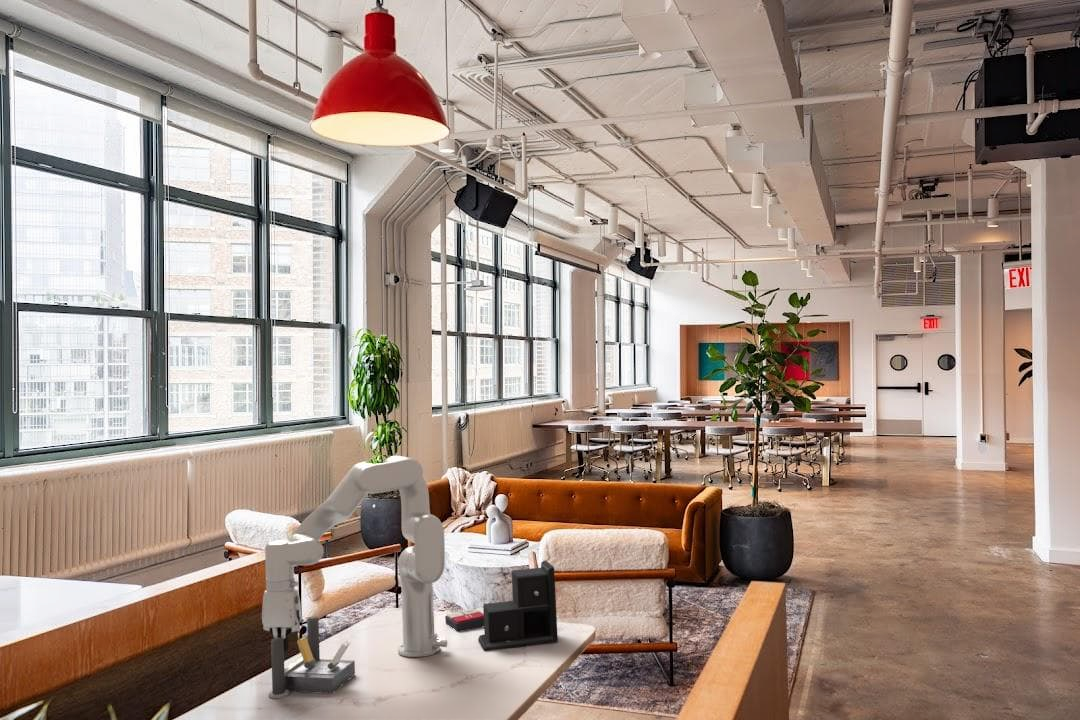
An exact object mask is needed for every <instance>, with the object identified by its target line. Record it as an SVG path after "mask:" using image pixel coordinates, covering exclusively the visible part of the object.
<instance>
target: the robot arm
mask: <svg viewBox="0 0 1080 720" xmlns="http://www.w3.org/2000/svg"><path fill="white" fill-rule="evenodd" d="M423 473H424V469H423V466H422V464H421V462H420V461H418V460H417V459H416V458H413V457H409V456H404V455H391V456H389V457H387V458H386V459H385V460H384V462H381V463H370V462H358V463H356V464H354V465H353V466H352V467H351V468H350V470H349V471H348V472H347V473H346V475H344V477H343V478H342V480H341V481H340V482H339V483H338V485H337V486H336V487H335V488H334V490H333V491H332V493H330V495H329V496H328V498H327V499H326V500H325V501H324V502H322V503H321V504H320V505H319V506H317V508H316V509H314V510H313V511H312V512H311V513H310V514H309V515H308V516H306V518H304V520H303V521H302V522H301V523H300V525H298V526H297V528H296V530H294V532H293V533H292V535H291V536H290V538H289V539H277V540H276V539H275V540H271V541H269V542H267V543H266V545H265V548H264V555H265V556H264V557H265V558H264V559H265V560H264V561H265V587H266V590H264V593H263V597H262V605H261V608H262V609H261V621H262V625H263V627H262V629H263V630H264V631H267V632H270V634H271V635H272V636H273V639H274V638H283V639H284V653H285V652H287V651H288V649H289V636H290V635H291V634H292V633H294V632H297V631H300V630H301V626H300V624H301V623H302V618H303V617H302V615H303V614H302V603H301V599H300V594H299V590H298V588H296V587H298V586H299V582H298V581H296V578H295V567H294V566H312V565H315V564H317V563H318V562H320V560H321V559H322V558H323V556H324V550H325V549H324V546H323V545H322V543H321V541H319V540H320V539H321V538H322V537H323V536H324V535H325V533H326V532H328V531H329V530H330V529H332V528H333V527H334V526H337V525H338V524H341V523H344V522H345V521H348V519H350V518H351V517H352V516H353V514H354V513H355V511H356V510H357V509H358V507H359V506H360V505H361V503H362V502H363V501H364V500H365V498H366V497H367V496H368V494H373V495H374V494H380V493H382V494H383V493H387V492H392V491H396V490H398V492H399V494H400V503H401V505H400V506H401V532H402V533H401V534H402V536H403V537H404V539H405V540H407V541H409V542H411V543H413V544H414V545H412V546H408V547H406V548H405V549H404V550H403V551H402V552H401V553H400V555H399V556H398V557H399V558H398V561H397V563H398V564H397V565H398V566H397V568H398V575H399V579H400V587H401V614H402V617H401V618H402V619H401V620H402V644H401V645H400V646H399V647H397V648H398V649H397V653H398V654H399V655H401V656H402V657H407V658H408V657H409V658H420V657H421V658H423V657H427V656H431V655H434V654H436V653H438V652H439V651H440V650H441V648H447V647H448V644H449V643H448V640H447V639H446V638H439V637H438V633H435V616H434V615H435V613H434V609H435V608H434V587H433V584H434V583H436V582H437V581H439V579H440V578H441V577H442V575H443V573H444V571H445V570H444V569H445V565H446V561H445V560H446V559H445V558H446V557H445V556H446V555H445V553H446V552H445V549H446V548H445V547H446V546H445V544H446V543H445V529H444V525H443V523H442V522H441V520H440V518H438V517H437V516H435V515H434V514H431V509H430V506H431V505H430V494H429V488H428V485H427V482H426V480H425V478H424V476H423Z"/></svg>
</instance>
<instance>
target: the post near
mask: <svg viewBox="0 0 1080 720" xmlns="http://www.w3.org/2000/svg"><path fill="white" fill-rule="evenodd" d="M270 653H271V655H270V657H271V683H272V684H271V685H272V687H271V688H272V689H271V691H269V693H268V697H269V699H272V700H278V699H283V698H286V697H288V696H289V694H290V691H288V690H287V689H285V671H284V669H285V652H284V639H283V638H274V637H273V638H271V640H270Z"/></svg>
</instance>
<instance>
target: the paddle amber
mask: <svg viewBox="0 0 1080 720" xmlns="http://www.w3.org/2000/svg"><path fill="white" fill-rule="evenodd" d="M296 642H297V645H298V649H299V652H300V654H301V657H303V660H304V663H305V664H304V666H305V668H309V667H310V666H312V665H313V664H314V663H315V662H316V660H315V659H314V658H313V655H312V652H311V650H310V647H309V644H308V637H306V636H304V637H301V638H300V639H298V640H297V641H296Z"/></svg>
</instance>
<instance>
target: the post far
mask: <svg viewBox="0 0 1080 720" xmlns="http://www.w3.org/2000/svg"><path fill="white" fill-rule="evenodd" d="M319 619H320V618H319V616H313V615H312V616H309V617H307V618H306V623H307V624H306V626H307V641H308V644H309V647H310V650H311V652H312V655H313V658H314V659H321V658H320V622H319V621H320V620H319Z"/></svg>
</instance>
